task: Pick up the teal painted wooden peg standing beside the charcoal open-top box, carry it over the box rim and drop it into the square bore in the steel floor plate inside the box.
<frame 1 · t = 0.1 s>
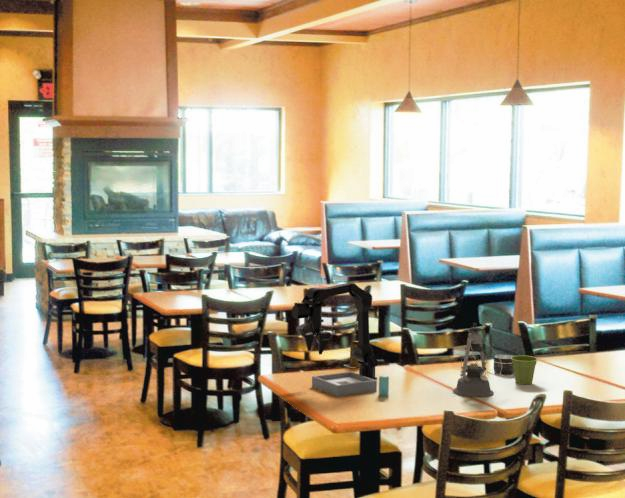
hand: (314, 352, 423), 15 cm above the table, fingers open, 9 cm apart
condiment: (354, 366, 466), on the table
box: (344, 388, 420), on the table
jar: (504, 373, 455), on the table
lantern: (476, 393, 414), on the table
plant pot: (523, 383, 434), on the table
peg: (383, 395, 409), on the table
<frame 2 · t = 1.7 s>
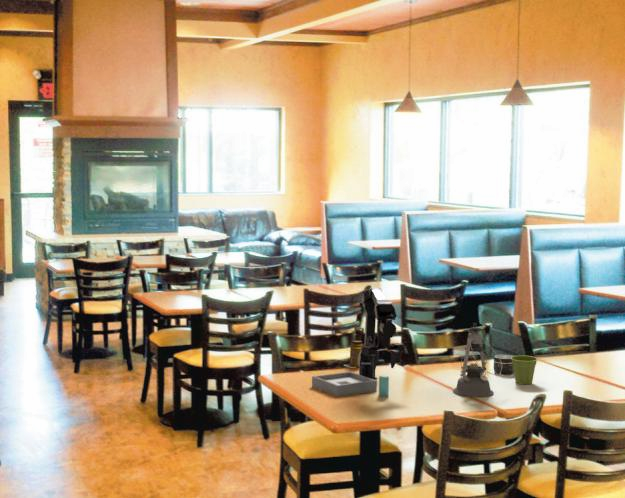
hand: (383, 369, 408), 11 cm above the table, fingers open, 9 cm apart
nothing on the table moved.
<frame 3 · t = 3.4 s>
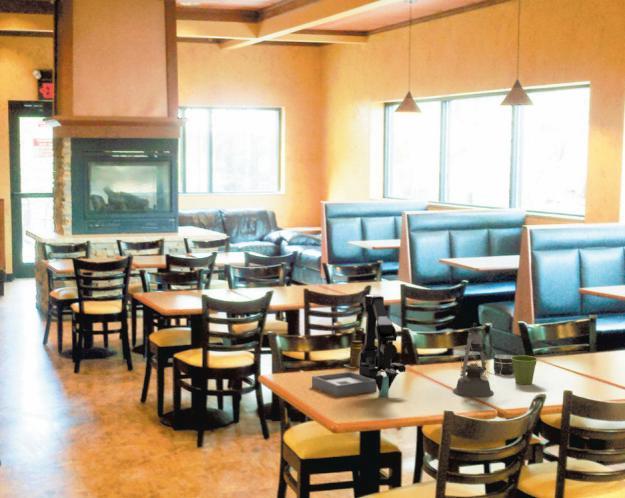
hand: (383, 389, 408), 2 cm above the table, fingers closed on peg, 4 cm apart
peg: (383, 395, 409), on the table, touching gripper
everything else where it was.
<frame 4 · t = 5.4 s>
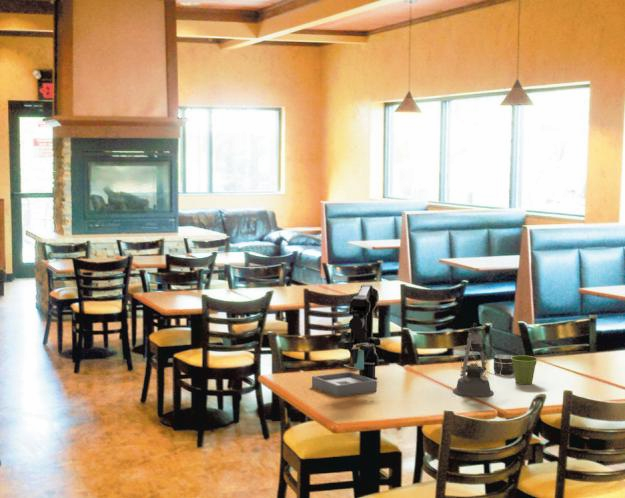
hand: (359, 363, 415), 12 cm above the table, fingers closed on peg, 4 cm apart
peg: (359, 368, 415), point 10 cm above the table, touching gripper
everything else where it was.
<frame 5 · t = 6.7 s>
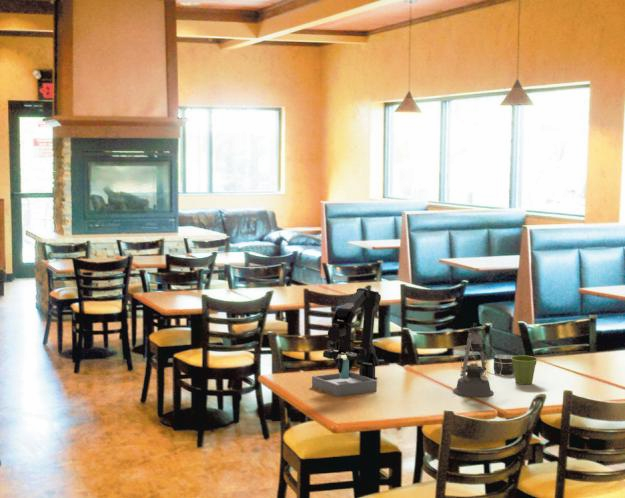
hand: (344, 372, 419), 7 cm above the table, fingers closed on peg, 4 cm apart
peg: (344, 377, 419), point 5 cm above the table, touching gripper
everything else where it was.
when the fingers open (4 cm above the table, at t = 7.8 s): peg drops 1 cm, resting in box.
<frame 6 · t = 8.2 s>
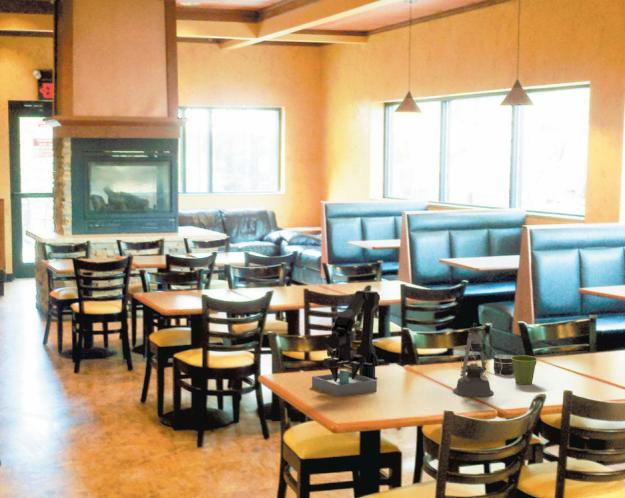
hand: (344, 380, 419), 4 cm above the table, fingers open, 9 cm apart
peg: (344, 388, 420), resting in box
everything else where it was.
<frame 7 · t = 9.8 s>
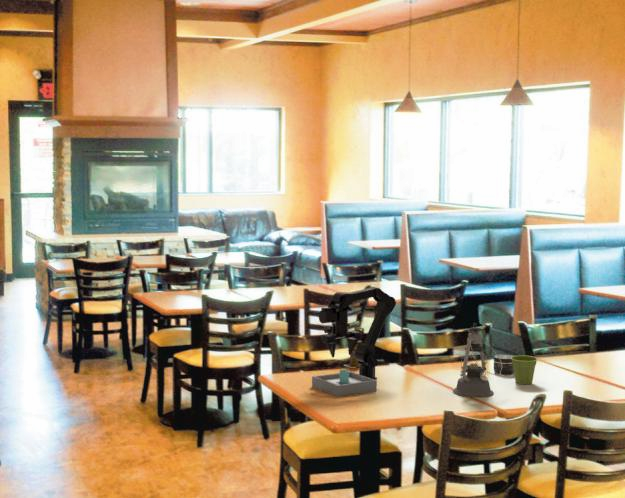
hand: (341, 356, 430), 12 cm above the table, fingers open, 9 cm apart
nothing on the table moved.
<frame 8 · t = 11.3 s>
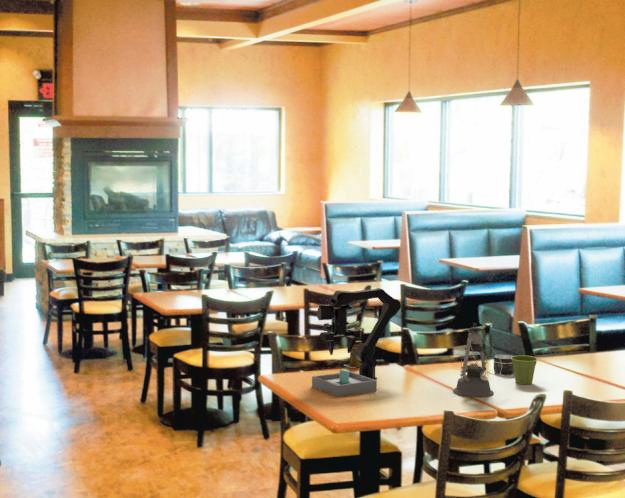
hand: (340, 353, 434), 12 cm above the table, fingers open, 9 cm apart
nothing on the table moved.
at the end: peg 0.0 cm off-centre on the box, point 0.0 cm above the box's base; peg tilted 0°; the gripper is holding nothing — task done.
